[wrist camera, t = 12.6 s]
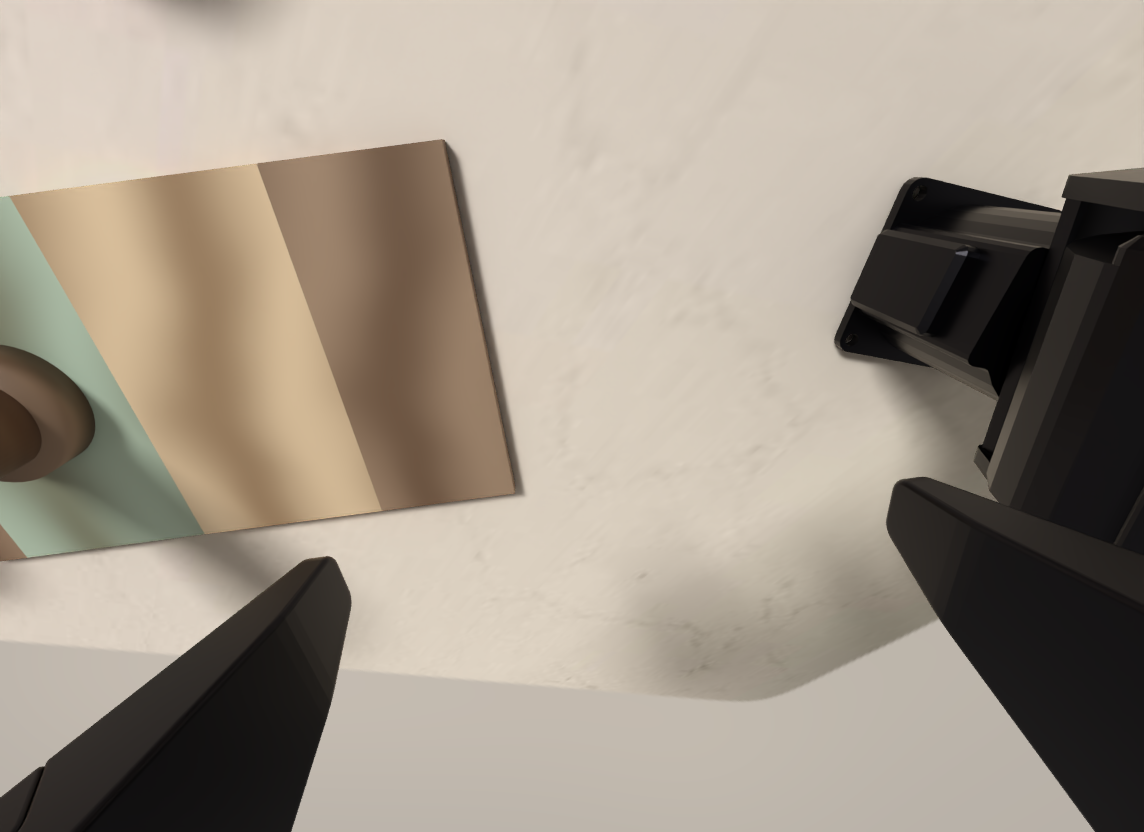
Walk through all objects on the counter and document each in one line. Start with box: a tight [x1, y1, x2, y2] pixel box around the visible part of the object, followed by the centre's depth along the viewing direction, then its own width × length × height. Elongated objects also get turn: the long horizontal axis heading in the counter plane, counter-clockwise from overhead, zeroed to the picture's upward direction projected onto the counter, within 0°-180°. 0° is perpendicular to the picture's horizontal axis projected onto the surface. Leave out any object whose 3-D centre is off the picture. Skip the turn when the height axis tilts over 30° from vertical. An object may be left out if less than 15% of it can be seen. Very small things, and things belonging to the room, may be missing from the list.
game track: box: [0, 139, 515, 561], centre depth 20 cm, size 24×14×1 cm, turn 97°
